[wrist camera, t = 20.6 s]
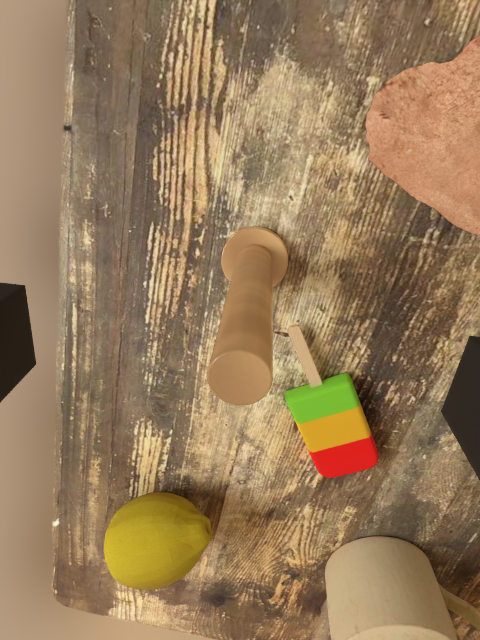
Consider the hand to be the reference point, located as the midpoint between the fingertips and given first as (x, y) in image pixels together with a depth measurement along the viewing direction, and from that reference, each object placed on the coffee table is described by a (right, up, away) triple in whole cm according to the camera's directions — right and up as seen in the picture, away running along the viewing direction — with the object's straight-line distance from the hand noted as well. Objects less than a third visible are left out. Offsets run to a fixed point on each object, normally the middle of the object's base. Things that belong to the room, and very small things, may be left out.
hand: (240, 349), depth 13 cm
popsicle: (+7, -5, +23) cm, 25 cm away
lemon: (-7, -17, +30) cm, 35 cm away
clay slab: (+17, +12, +14) cm, 25 cm away
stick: (+1, +5, +18) cm, 19 cm away
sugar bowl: (+16, -25, +32) cm, 43 cm away
